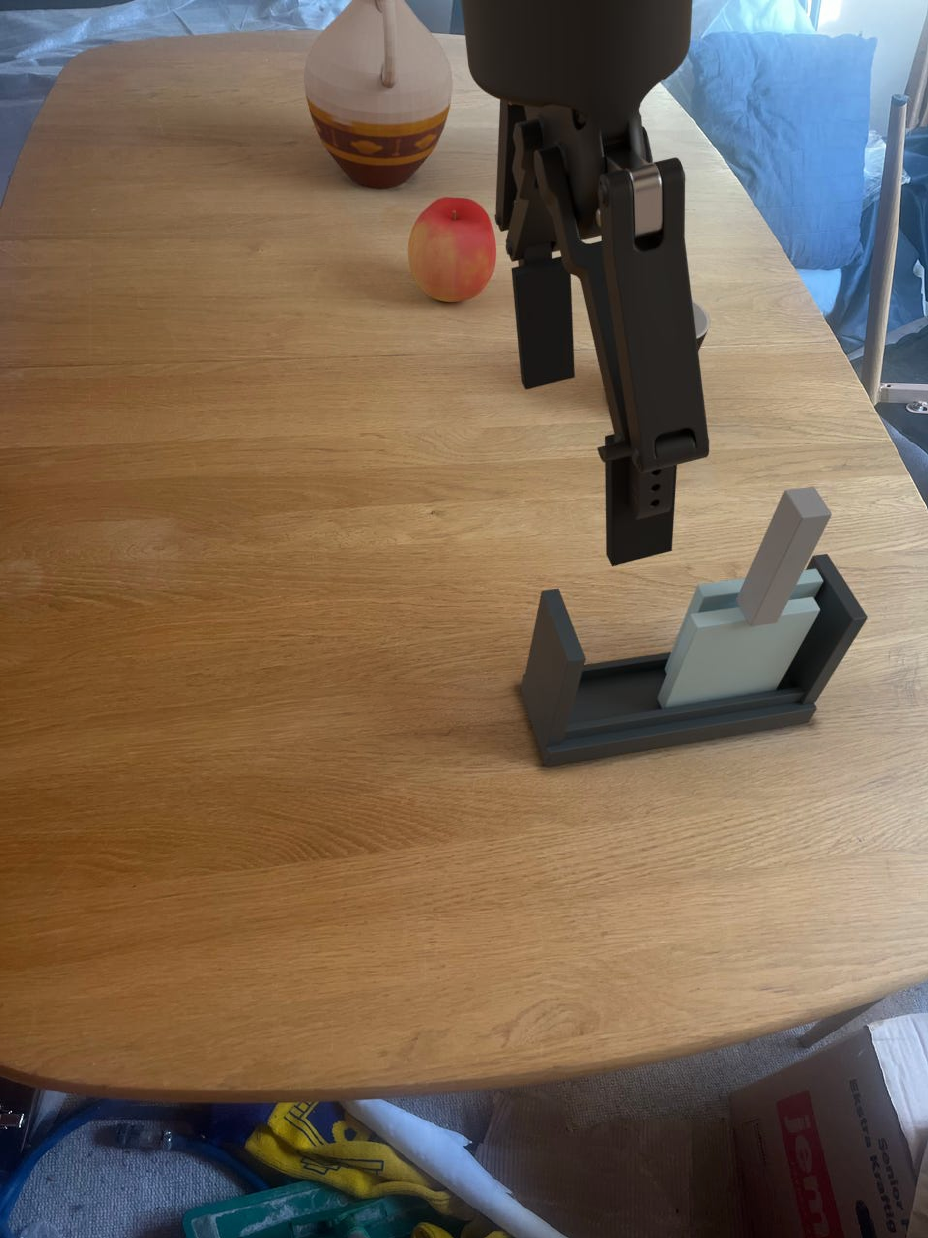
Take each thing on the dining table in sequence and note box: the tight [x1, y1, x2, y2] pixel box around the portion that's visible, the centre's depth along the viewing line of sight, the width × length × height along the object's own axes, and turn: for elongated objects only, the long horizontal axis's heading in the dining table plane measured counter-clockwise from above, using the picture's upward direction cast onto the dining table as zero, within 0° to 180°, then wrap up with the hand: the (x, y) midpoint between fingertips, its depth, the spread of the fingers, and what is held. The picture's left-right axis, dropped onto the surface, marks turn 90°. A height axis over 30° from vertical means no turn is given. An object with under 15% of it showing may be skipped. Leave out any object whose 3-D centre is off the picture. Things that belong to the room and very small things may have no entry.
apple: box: [407, 196, 497, 303], centre depth 103 cm, size 10×10×10 cm
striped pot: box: [303, 0, 454, 189], centre depth 112 cm, size 20×18×30 cm
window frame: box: [519, 553, 869, 768], centre depth 69 cm, size 7×21×12 cm, turn 103°
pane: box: [658, 486, 833, 709], centre depth 64 cm, size 2×9×20 cm, turn 103°
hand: (589, 458), depth 46 cm, fingers open, 13 cm apart
